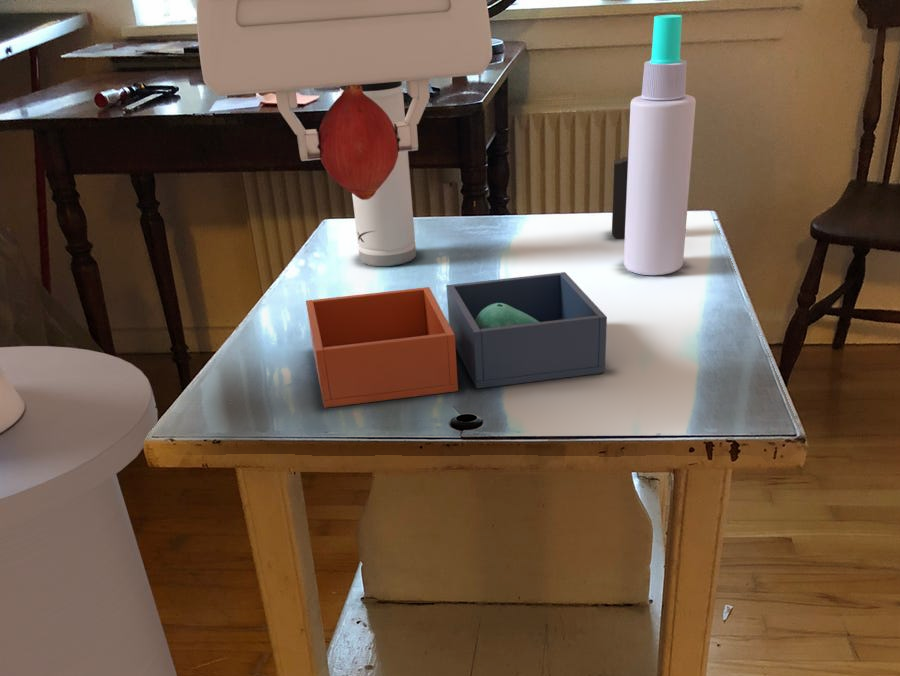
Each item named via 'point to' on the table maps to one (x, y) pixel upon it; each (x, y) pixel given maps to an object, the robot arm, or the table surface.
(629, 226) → the spray bottle
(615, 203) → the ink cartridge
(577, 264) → the table surface
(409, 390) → the terracotta bin
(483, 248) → the table surface
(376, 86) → the travel mug
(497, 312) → the whale figurine
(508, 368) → the blue bin
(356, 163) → the onion
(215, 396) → the table surface
